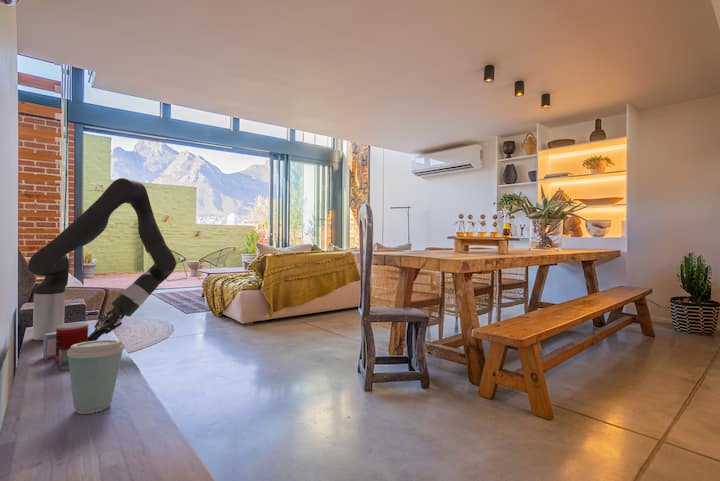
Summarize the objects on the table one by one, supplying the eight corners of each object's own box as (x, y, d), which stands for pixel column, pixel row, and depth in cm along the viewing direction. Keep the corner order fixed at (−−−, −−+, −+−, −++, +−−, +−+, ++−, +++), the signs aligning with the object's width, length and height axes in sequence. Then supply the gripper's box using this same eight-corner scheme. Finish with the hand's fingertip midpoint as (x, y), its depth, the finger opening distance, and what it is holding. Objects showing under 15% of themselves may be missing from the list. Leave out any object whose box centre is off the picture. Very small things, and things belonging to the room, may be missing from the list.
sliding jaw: (38, 353, 123) (38, 330, 124) (64, 349, 129) (64, 327, 129) (46, 359, 118) (46, 335, 118) (73, 354, 123) (73, 331, 123)
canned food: (93, 356, 121) (94, 322, 121) (72, 364, 113) (73, 328, 113) (71, 355, 122) (72, 322, 122) (48, 363, 114) (49, 327, 114)
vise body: (55, 368, 110) (55, 349, 110) (88, 361, 117) (89, 343, 117) (61, 372, 106) (61, 353, 106) (95, 365, 113) (96, 347, 113)
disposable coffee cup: (65, 405, 85) (66, 339, 85) (121, 394, 92) (122, 333, 92) (64, 423, 77) (66, 350, 77) (125, 410, 83) (127, 342, 83)
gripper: (114, 291, 133) (72, 332, 123) (130, 294, 125) (86, 338, 115) (130, 304, 137) (90, 344, 127) (147, 308, 129) (106, 352, 119)
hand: (89, 341), depth 121 cm, fingers closed
